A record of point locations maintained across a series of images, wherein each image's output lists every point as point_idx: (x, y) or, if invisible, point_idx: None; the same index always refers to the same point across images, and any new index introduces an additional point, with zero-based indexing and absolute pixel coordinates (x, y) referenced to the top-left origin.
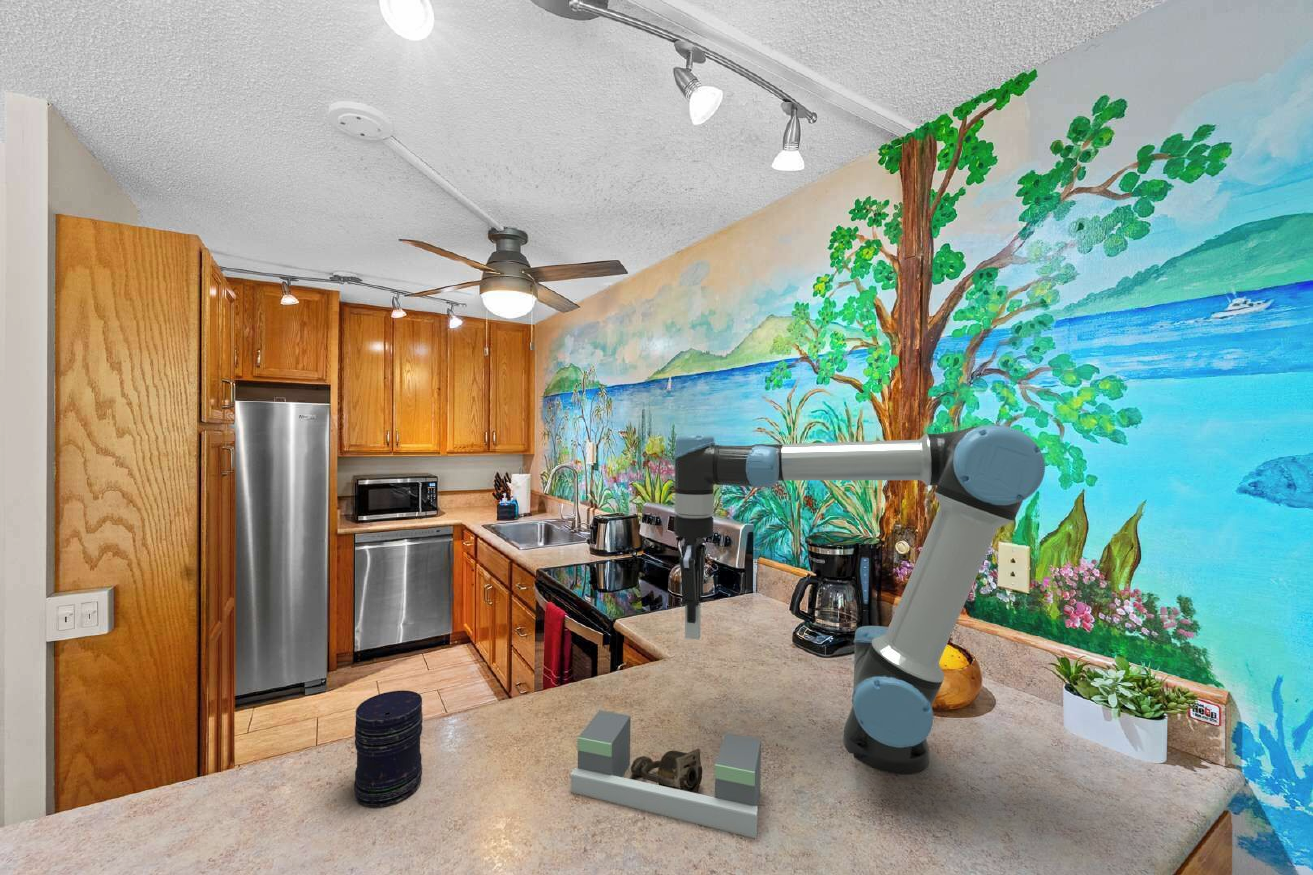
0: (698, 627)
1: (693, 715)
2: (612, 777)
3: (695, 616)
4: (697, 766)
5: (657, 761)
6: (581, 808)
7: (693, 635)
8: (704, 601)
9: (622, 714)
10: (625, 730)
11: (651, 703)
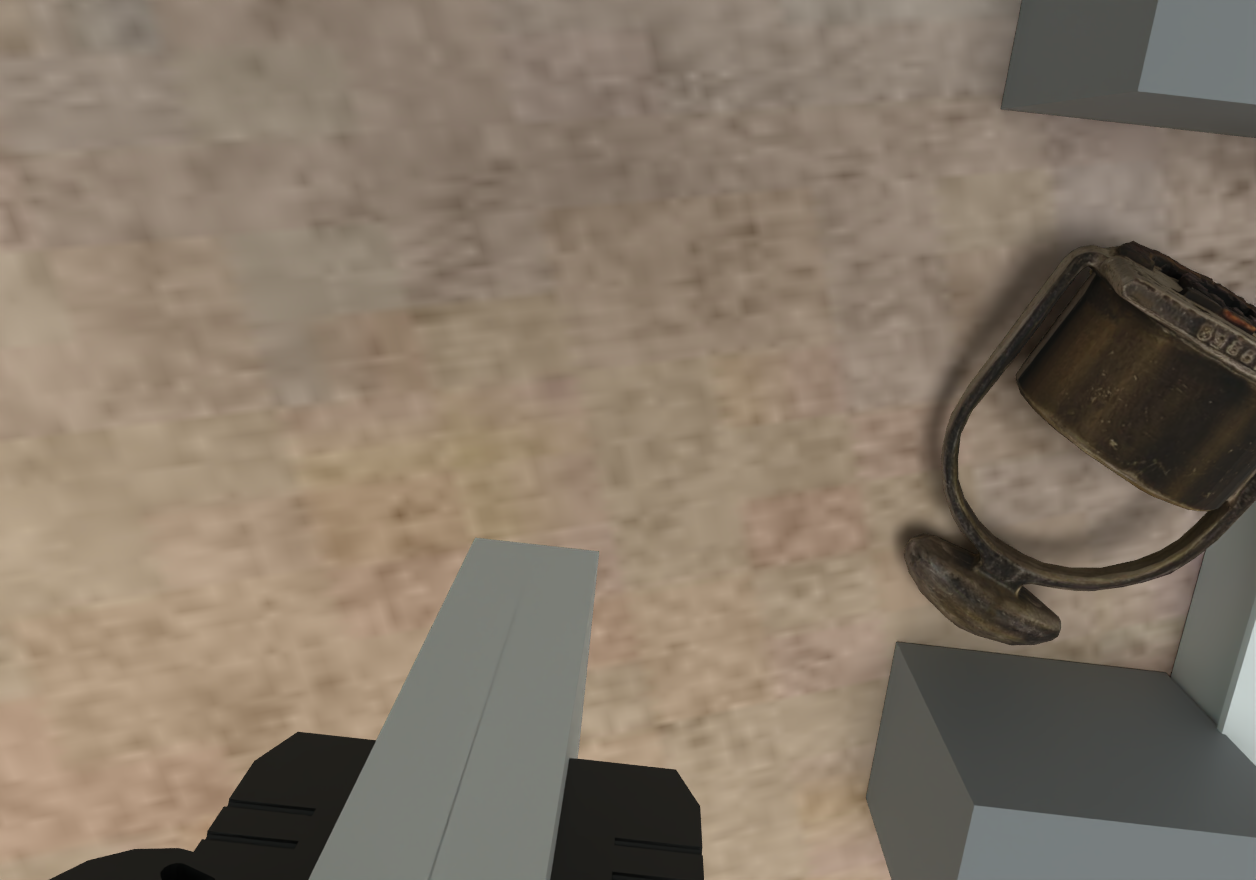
0: (584, 645)
1: (299, 368)
2: (1240, 724)
3: (577, 832)
4: (1160, 277)
5: (965, 516)
6: None
7: (586, 655)
8: (140, 855)
9: (964, 856)
10: (1056, 786)
11: (235, 645)
